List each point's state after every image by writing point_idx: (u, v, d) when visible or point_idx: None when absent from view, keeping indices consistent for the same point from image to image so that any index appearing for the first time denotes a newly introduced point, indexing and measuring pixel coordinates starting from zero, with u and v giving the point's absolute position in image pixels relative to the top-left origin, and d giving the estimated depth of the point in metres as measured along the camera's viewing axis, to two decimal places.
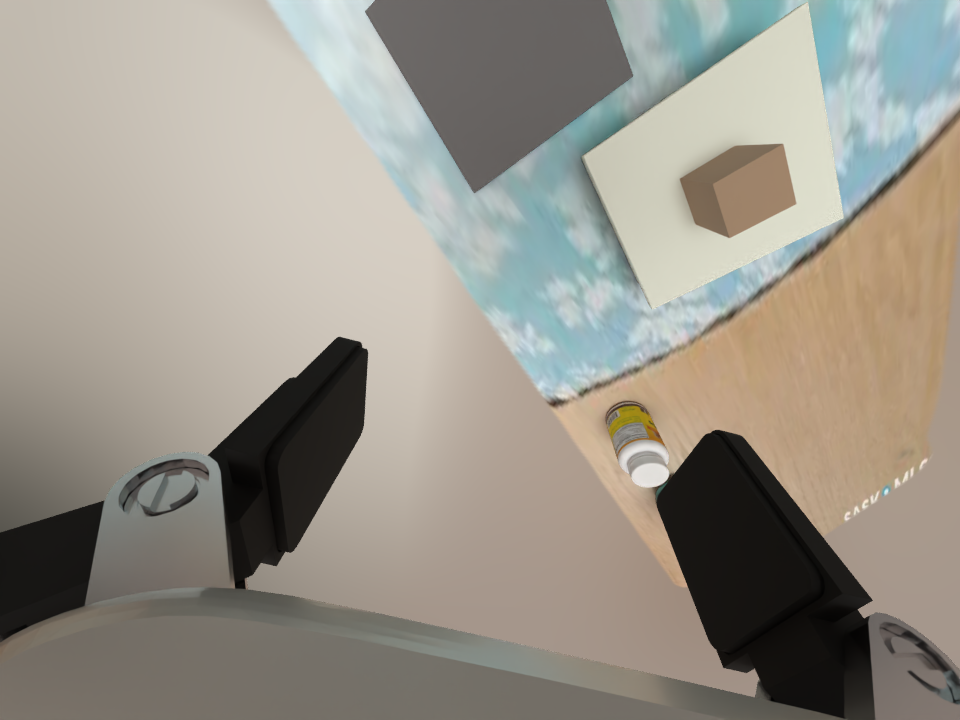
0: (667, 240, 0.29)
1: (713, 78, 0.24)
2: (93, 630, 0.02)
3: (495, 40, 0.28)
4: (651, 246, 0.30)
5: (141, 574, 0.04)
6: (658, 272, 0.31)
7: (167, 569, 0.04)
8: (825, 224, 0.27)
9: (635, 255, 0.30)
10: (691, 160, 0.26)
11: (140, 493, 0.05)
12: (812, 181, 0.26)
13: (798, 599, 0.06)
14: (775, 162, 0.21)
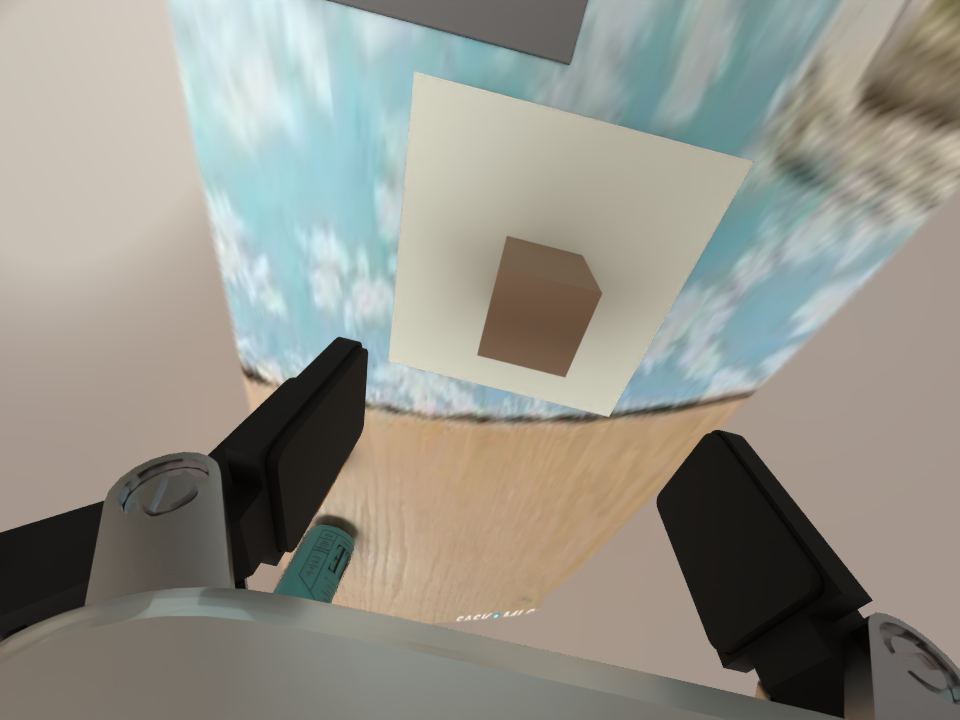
0: (449, 297, 0.20)
1: (620, 144, 0.15)
2: (93, 630, 0.02)
3: None
4: (428, 288, 0.19)
5: (142, 573, 0.04)
6: (418, 325, 0.21)
7: (167, 569, 0.04)
8: (592, 410, 0.23)
9: (404, 282, 0.19)
10: (532, 225, 0.17)
11: (140, 493, 0.05)
12: (613, 361, 0.21)
13: (798, 599, 0.06)
14: (579, 309, 0.13)
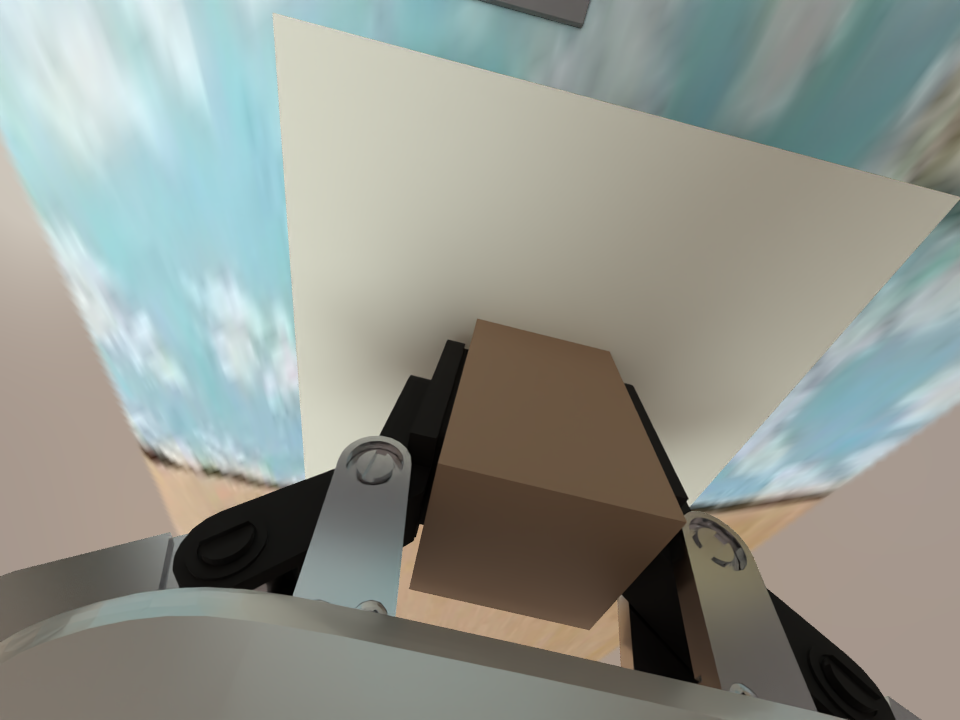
0: (389, 406, 0.12)
1: (693, 162, 0.08)
2: (93, 630, 0.02)
3: None
4: (353, 392, 0.12)
5: (348, 528, 0.05)
6: (344, 441, 0.13)
7: (363, 534, 0.05)
8: None
9: (313, 383, 0.12)
10: (523, 303, 0.10)
11: (358, 460, 0.06)
12: None
13: None
14: (628, 542, 0.06)
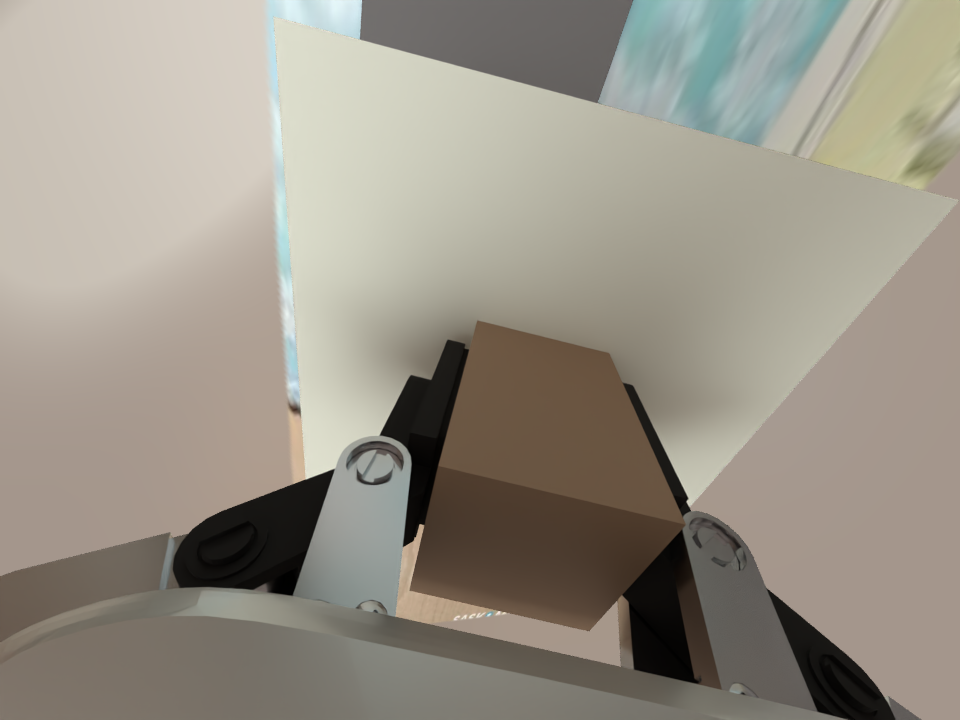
0: (389, 407, 0.12)
1: (692, 165, 0.08)
2: (93, 630, 0.02)
3: (483, 40, 0.22)
4: (353, 394, 0.12)
5: (348, 528, 0.05)
6: (344, 442, 0.13)
7: (363, 533, 0.05)
8: None
9: (314, 384, 0.12)
10: (523, 305, 0.10)
11: (359, 460, 0.06)
12: None
13: None
14: (628, 545, 0.06)
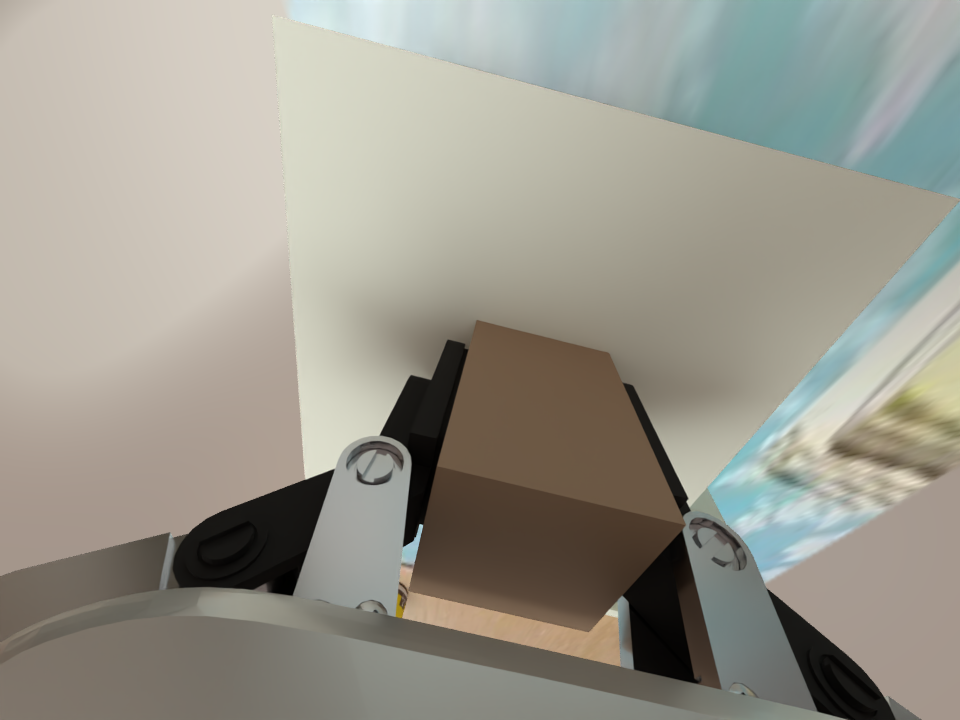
0: (388, 407, 0.12)
1: (692, 164, 0.08)
2: (93, 630, 0.02)
3: None
4: (353, 393, 0.12)
5: (349, 528, 0.05)
6: (344, 443, 0.13)
7: (363, 533, 0.05)
8: None
9: (313, 384, 0.12)
10: (522, 305, 0.10)
11: (359, 460, 0.06)
12: None
13: None
14: (628, 545, 0.06)
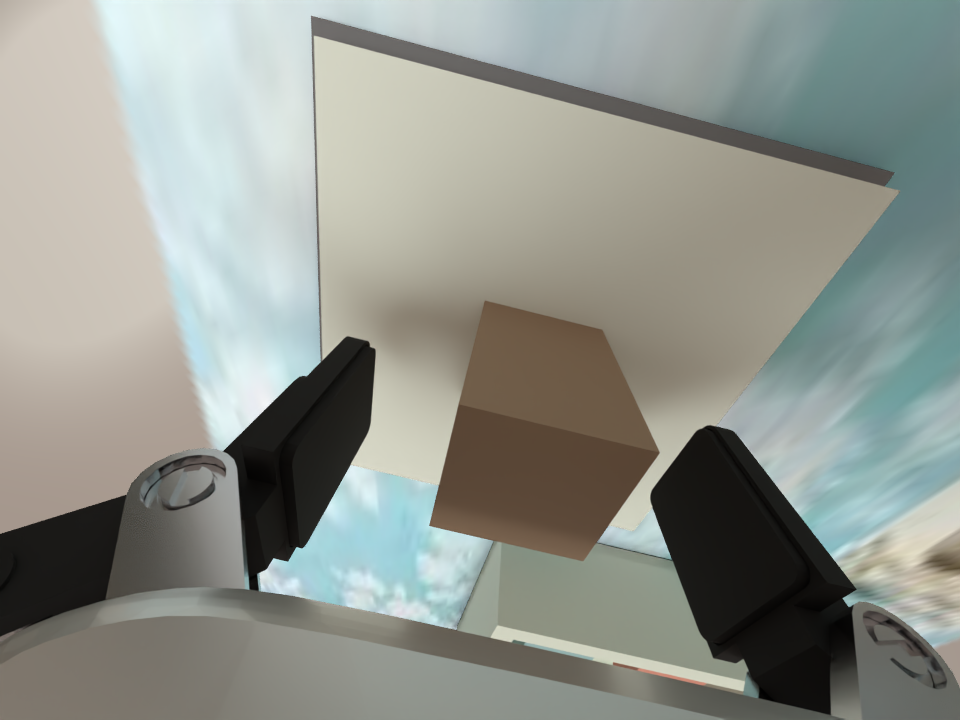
0: (404, 382, 0.13)
1: (671, 161, 0.09)
2: (93, 630, 0.02)
3: None
4: None
5: (162, 565, 0.04)
6: None
7: (185, 563, 0.04)
8: (611, 523, 0.16)
9: None
10: (525, 286, 0.11)
11: (160, 487, 0.05)
12: None
13: (784, 589, 0.06)
14: (614, 473, 0.07)
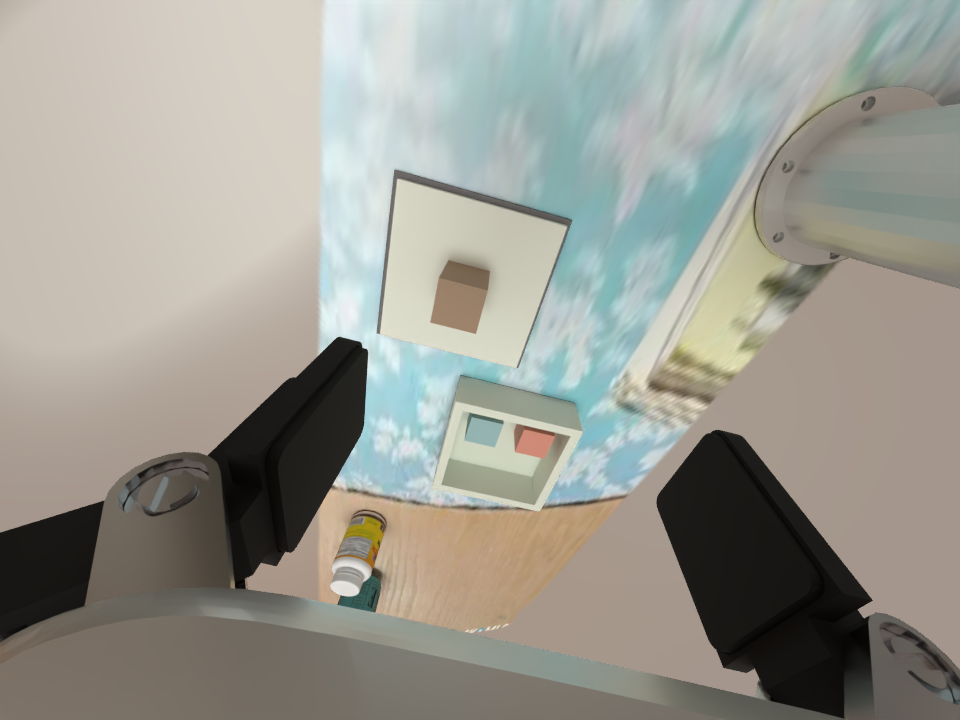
0: (417, 294, 0.34)
1: (502, 216, 0.30)
2: (93, 630, 0.02)
3: None
4: (405, 289, 0.33)
5: (143, 573, 0.04)
6: (399, 311, 0.35)
7: (167, 569, 0.04)
8: (506, 364, 0.37)
9: (390, 285, 0.33)
10: (462, 255, 0.32)
11: (140, 493, 0.05)
12: (514, 332, 0.35)
13: (798, 599, 0.06)
14: (478, 298, 0.28)
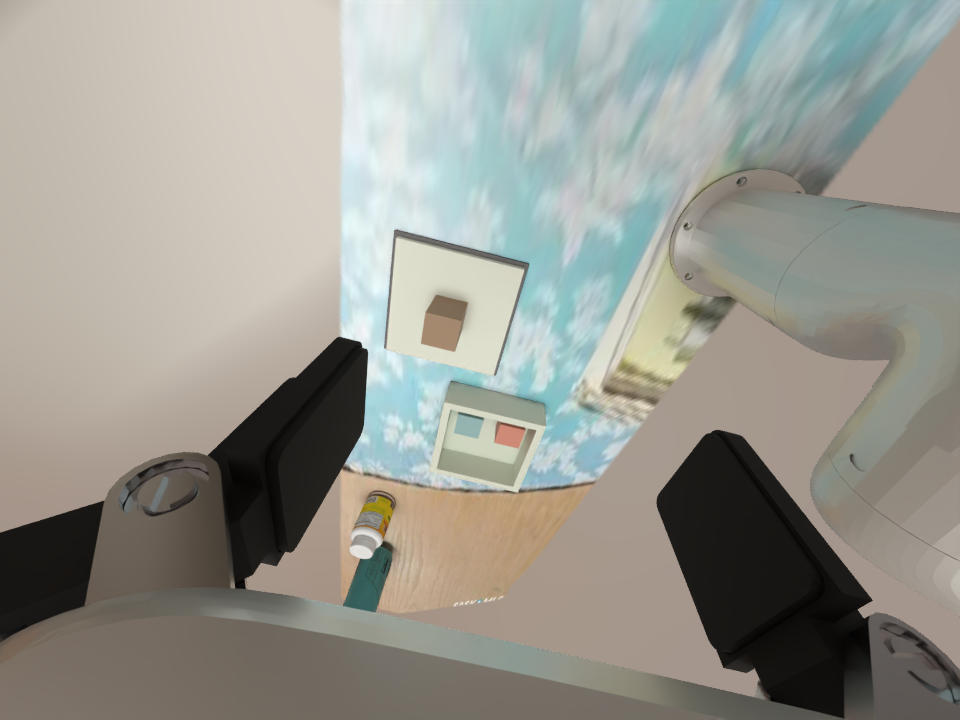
0: (414, 319, 0.44)
1: (475, 263, 0.39)
2: (93, 630, 0.02)
3: None
4: (404, 315, 0.44)
5: (143, 573, 0.04)
6: (400, 332, 0.45)
7: (167, 569, 0.04)
8: (485, 372, 0.47)
9: (393, 313, 0.44)
10: (446, 290, 0.41)
11: (140, 493, 0.05)
12: (489, 348, 0.45)
13: (798, 599, 0.06)
14: (454, 326, 0.38)
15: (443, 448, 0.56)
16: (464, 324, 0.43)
